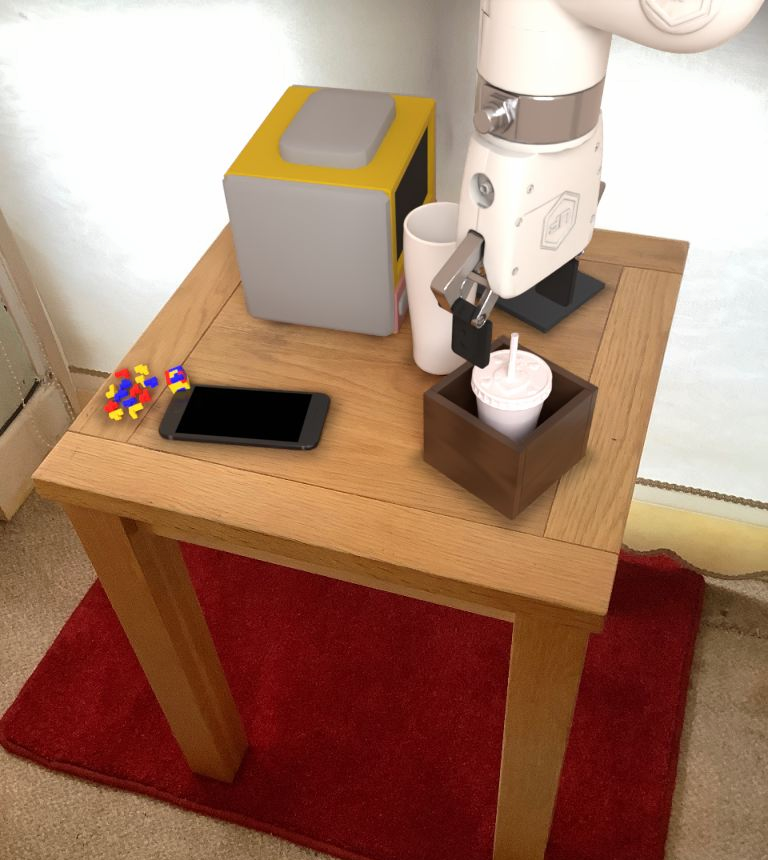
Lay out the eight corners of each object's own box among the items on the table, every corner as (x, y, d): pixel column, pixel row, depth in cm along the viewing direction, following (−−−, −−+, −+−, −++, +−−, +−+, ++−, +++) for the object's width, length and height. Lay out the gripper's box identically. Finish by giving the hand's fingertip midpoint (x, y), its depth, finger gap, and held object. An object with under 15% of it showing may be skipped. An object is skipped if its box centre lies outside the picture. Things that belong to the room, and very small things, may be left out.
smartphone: (179, 386, 84) (177, 379, 83) (333, 397, 82) (332, 390, 81) (156, 441, 79) (153, 434, 78) (317, 455, 77) (316, 448, 76)
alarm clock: (398, 357, 85) (392, 182, 71) (247, 335, 88) (212, 163, 74) (442, 246, 97) (444, 77, 83) (307, 230, 100) (288, 64, 86)
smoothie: (459, 477, 75) (464, 350, 64) (476, 426, 79) (484, 298, 68) (533, 492, 73) (551, 364, 63) (547, 439, 77) (566, 311, 67)
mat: (604, 288, 91) (605, 283, 91) (545, 333, 87) (545, 328, 86) (529, 251, 96) (529, 247, 95) (469, 292, 92) (469, 288, 91)
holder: (585, 456, 76) (599, 387, 70) (512, 520, 72) (519, 453, 65) (497, 402, 81) (502, 334, 74) (423, 460, 76) (422, 392, 70)
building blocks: (105, 422, 80) (114, 434, 81) (185, 391, 80) (193, 403, 81) (101, 377, 84) (110, 389, 85) (177, 347, 84) (185, 359, 85)
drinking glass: (399, 378, 83) (394, 240, 72) (414, 333, 88) (412, 197, 76) (468, 387, 82) (475, 249, 71) (480, 342, 86) (488, 204, 75)
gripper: (492, 177, 47) (474, 409, 60) (672, 69, 54) (621, 296, 67) (392, 132, 50) (396, 360, 63) (574, 36, 58) (544, 258, 71)
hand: (512, 327), depth 65 cm, fingers open, 9 cm apart
